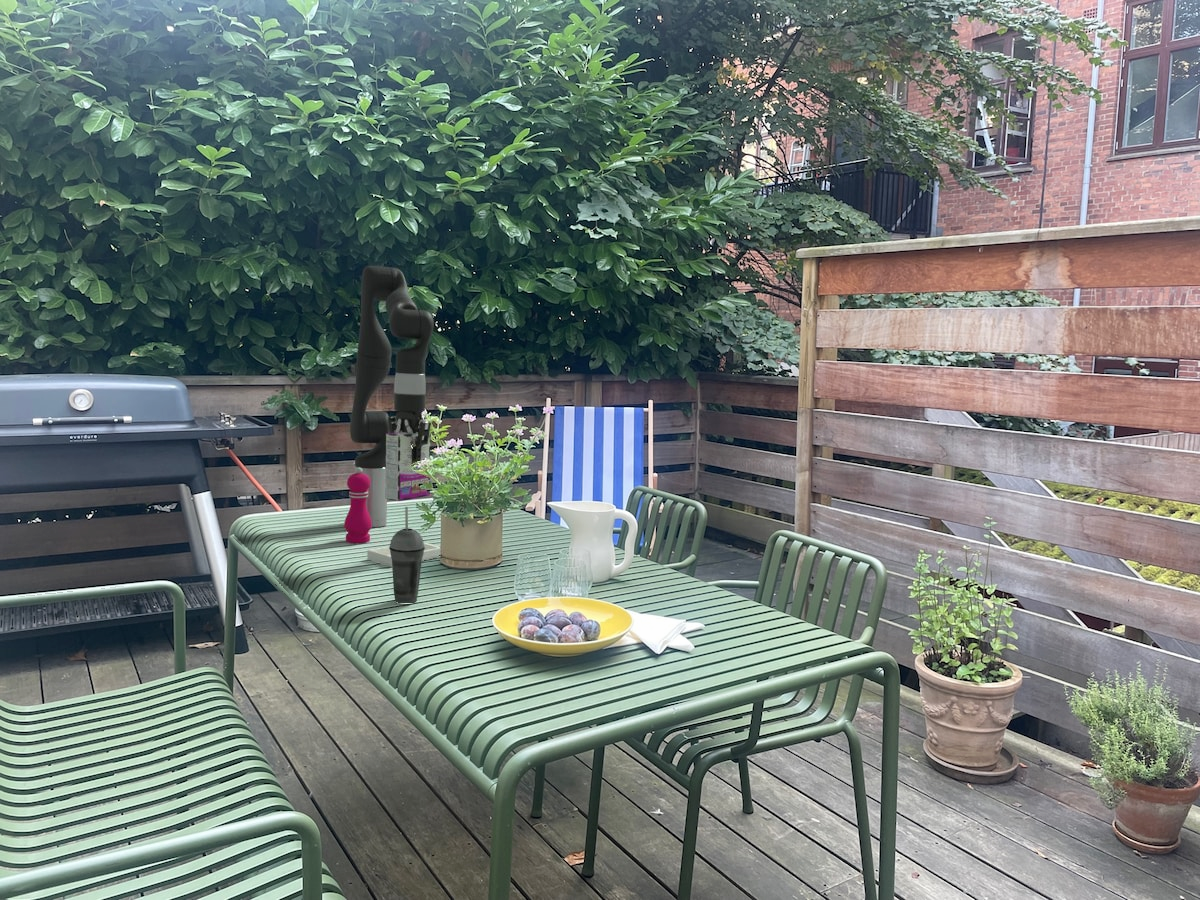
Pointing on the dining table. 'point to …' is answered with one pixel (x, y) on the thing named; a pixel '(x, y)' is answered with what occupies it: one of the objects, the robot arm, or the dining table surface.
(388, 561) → the tray
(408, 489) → the candy bar box
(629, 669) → the dining table surface
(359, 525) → the pepper mill
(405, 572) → the beverage cup
